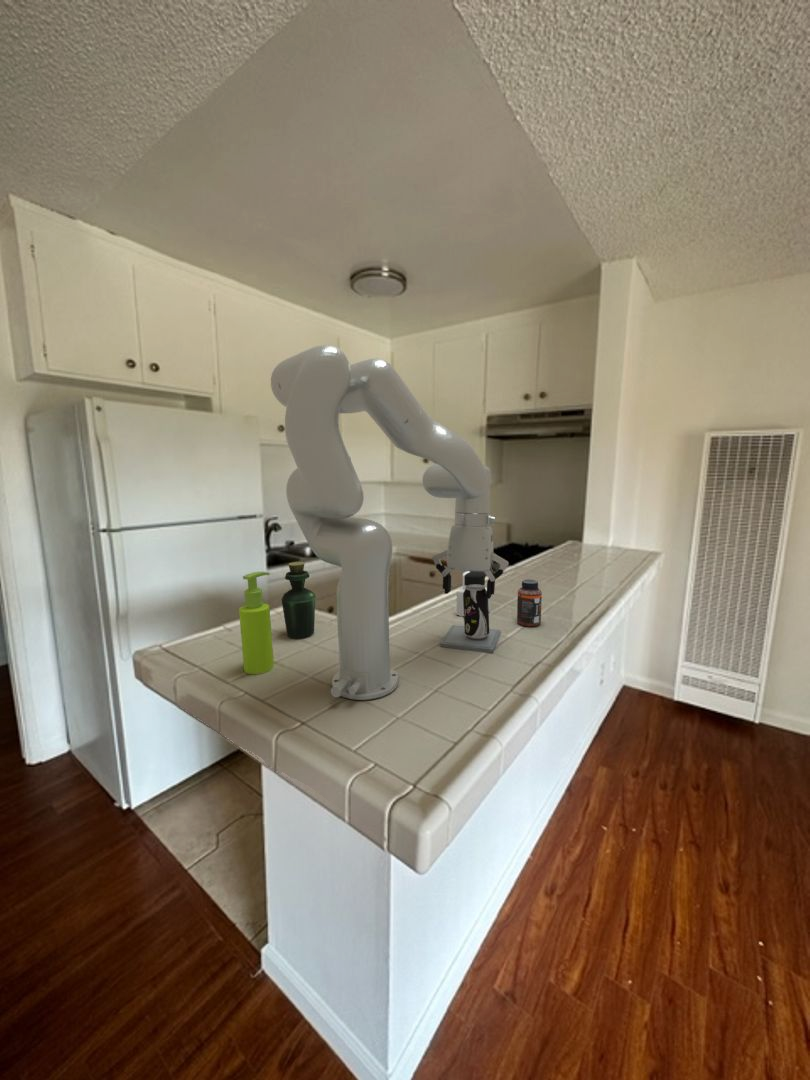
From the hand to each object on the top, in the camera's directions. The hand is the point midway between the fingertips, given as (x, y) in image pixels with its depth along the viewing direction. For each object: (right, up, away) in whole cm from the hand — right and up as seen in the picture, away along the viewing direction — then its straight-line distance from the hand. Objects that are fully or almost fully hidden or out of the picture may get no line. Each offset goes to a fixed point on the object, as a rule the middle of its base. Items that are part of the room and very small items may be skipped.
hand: (468, 594), depth 101 cm
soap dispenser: (-45, -14, -9) cm, 48 cm away
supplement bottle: (+18, -9, +13) cm, 24 cm away
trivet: (+1, -11, +3) cm, 11 cm away
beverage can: (+2, -10, +2) cm, 11 cm away
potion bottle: (-40, -11, +8) cm, 43 cm away
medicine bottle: (+4, -8, +20) cm, 22 cm away
